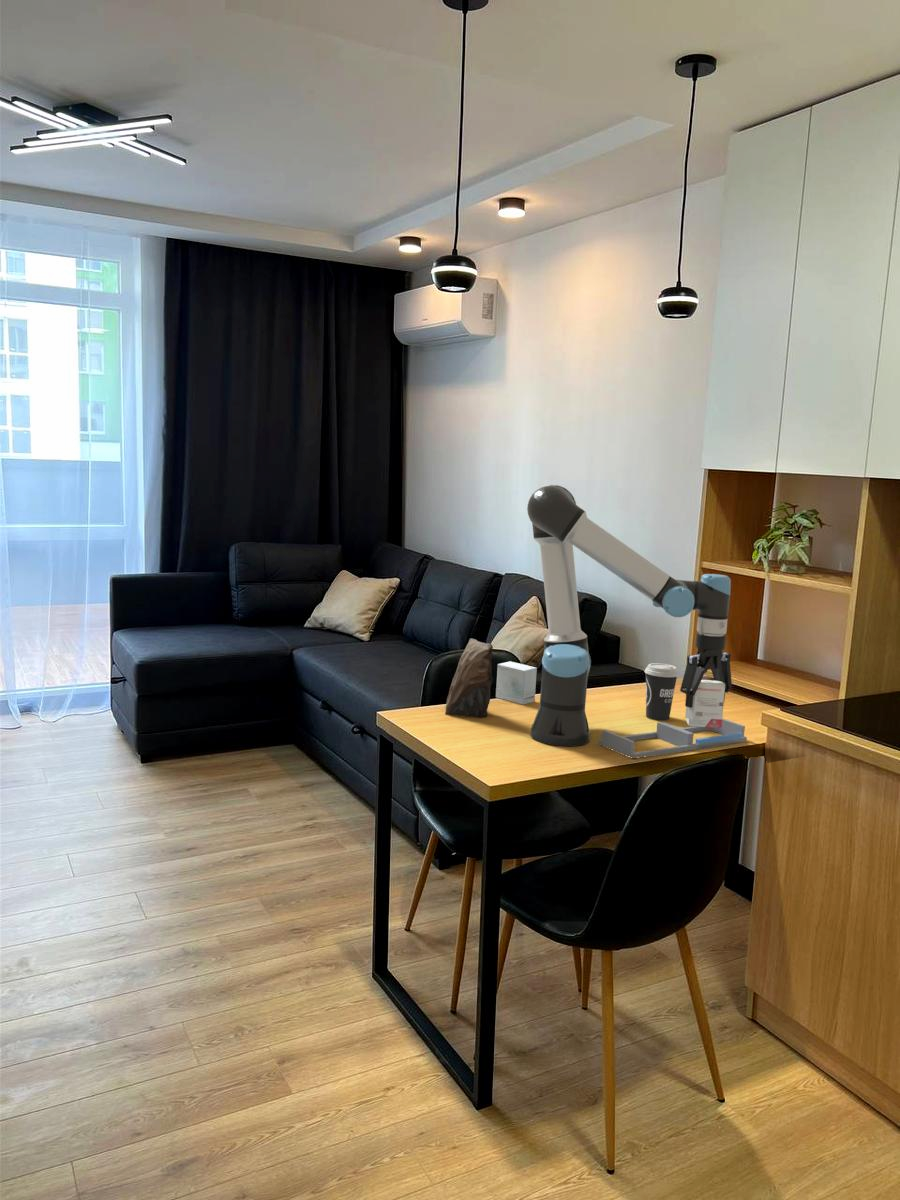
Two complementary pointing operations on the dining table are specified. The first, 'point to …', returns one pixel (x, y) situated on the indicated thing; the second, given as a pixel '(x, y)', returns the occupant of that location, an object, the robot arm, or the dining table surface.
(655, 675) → the coffee cup
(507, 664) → the skincare box
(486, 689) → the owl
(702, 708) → the ink box
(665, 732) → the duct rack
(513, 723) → the dining table surface
